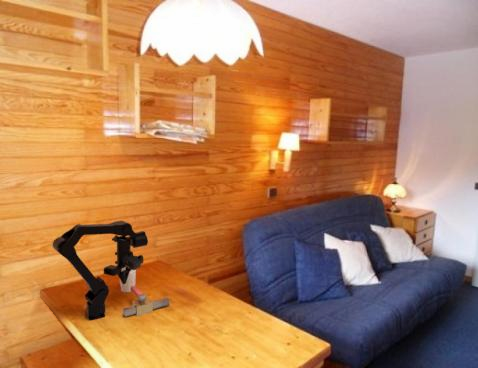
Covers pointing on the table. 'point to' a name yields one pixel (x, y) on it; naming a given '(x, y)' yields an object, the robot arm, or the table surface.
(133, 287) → the lever
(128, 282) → the white cup
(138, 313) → the valve
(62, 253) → the robot arm
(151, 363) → the table surface
